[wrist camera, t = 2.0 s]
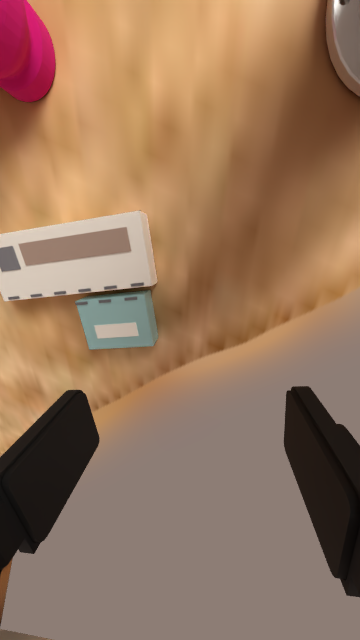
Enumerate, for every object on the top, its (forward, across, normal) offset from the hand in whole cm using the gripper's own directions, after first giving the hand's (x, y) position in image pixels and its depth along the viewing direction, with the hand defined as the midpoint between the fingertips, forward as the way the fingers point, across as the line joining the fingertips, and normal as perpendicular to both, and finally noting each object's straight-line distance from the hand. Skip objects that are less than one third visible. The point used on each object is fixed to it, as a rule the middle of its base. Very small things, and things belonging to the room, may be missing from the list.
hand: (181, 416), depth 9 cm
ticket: (+16, +13, -7) cm, 22 cm away
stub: (+16, +9, 0) cm, 19 cm away
